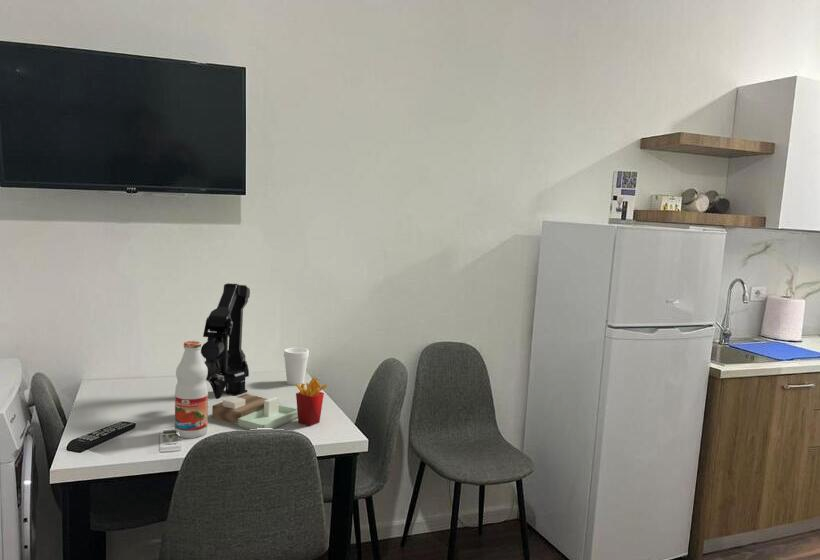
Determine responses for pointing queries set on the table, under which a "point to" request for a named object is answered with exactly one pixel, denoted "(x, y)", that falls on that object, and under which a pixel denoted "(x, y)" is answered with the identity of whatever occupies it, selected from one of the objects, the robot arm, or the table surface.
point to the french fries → (309, 402)
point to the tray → (268, 418)
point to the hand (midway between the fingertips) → (217, 398)
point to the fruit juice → (191, 393)
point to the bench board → (238, 409)
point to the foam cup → (296, 364)
